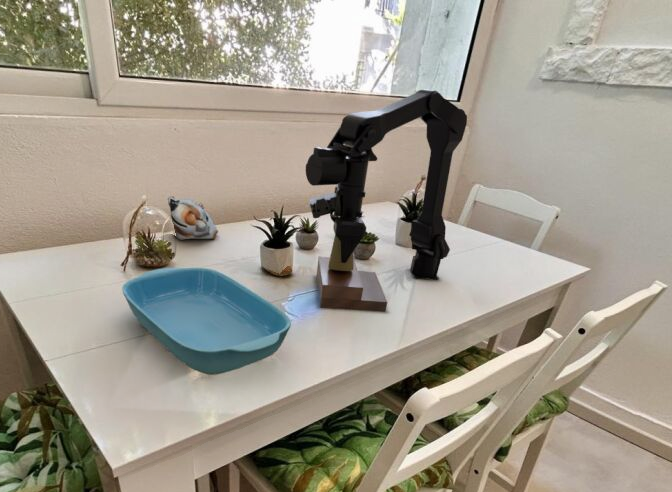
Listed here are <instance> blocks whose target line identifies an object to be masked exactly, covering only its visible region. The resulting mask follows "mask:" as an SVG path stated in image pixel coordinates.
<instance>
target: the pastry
mask: <svg viewBox="0 0 672 492" xmlns="http://www.w3.org/2000/svg"><path fill="white" fill-rule="evenodd" d="M291 266H292V265H291ZM291 266H287V267H286V268H285V269H284V270H282V272H281V273H280V274H279V273H276V272H273V271H271V270H268V269H265V268H264V270H265V271H267V272H269V273H270V274H272V275H274V276H279V277H284V276H290V275H291V274H292V273H293V267H292V268H291Z"/></svg>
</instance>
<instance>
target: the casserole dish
mask: <svg viewBox="0 0 672 492" xmlns="http://www.w3.org/2000/svg"><path fill="white" fill-rule="evenodd" d="M121 290H122V294H123V296H124V298H125V300H126V302H127V304H128V306H129V308H130V310H131V312H132V313H133V315H134V317H135V319H137V321H138V322H139V323H140V325H142V326H143V327H144V329H146V330H147V331H148V332H149V333H150V335H152V336H153V337H154V338H155V339H156V340H157V341H158V342H159V343H160V344H161V345H163V347H164V348H165V349H167V350H168V351H169V352H170V354H172V355H173V356H174V357H175V358H176V359H177V360H179V361H181V363H183V364H184V365H186V366H187V367H189V368H190V369H192V370H194V371H196V372H198V373H200V374H201V373H202V374H204V375H208V376H210V375H211V376H217V375H221V374H225V373H229V372H232V371H235V370H239V369H241V368H244V367H245V366H249V365H251V364H255V363H257V362H259V361H260V362H261V361H263V360H264V359H267V358H269V357H270V356H272V355H274V354H275V353H277V351H278V350H279V349H280V347H281V346H282V344H283V343H284V341H285V339H286V337H287V334H288V332H289V330H290V328H291V326H292V321H291V318H290V317H289V315H287V313H286V312H284V311H283V310H282V309H281V308H279V307H278V306H276V305H275V304H273V303H272V302H270V301H269V300H268V299H266V298H264V297H262V296H261V295H259V293H256V292H254V291H253V290H252V289H250V288H248V287H247V286H245V285H243V284H242V283H240V282H239V281H237V280H235V279H234V278H232V277H231V276H229V275H227V274H225V273H223V272H221V271H219V270H216V269H212V268H207V267H164V268H158V269H152V270H150V271H146V272H144V273H142V274H141V275H139V276H138V277H137V276H136V277H134V278H132V279H130V280H127V281H126V282H124V284H123V285H122V287H121Z"/></svg>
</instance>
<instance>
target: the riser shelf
mask: <svg viewBox="0 0 672 492" xmlns="http://www.w3.org/2000/svg"><path fill="white" fill-rule="evenodd" d="M329 260H330V256H318V257H317V267H316V276H315V277H316V286H317V294H318V301H319V307H320V308H321V309H335V310H348V311H349V310H351V311H364V312H365V311H366V312H381V313H386V312H387V311H386V310H387V306H388V299H387V298H386V295H385V293H384V290H383V287H382V285H381V283H380V281H379V278H378V275H377V273H376V272H375V271H364V270H358V268H357V264H356V262H355V259H354V258H353V261H354V270H352V271H340V270H333V269H330V268H328V265H329Z"/></svg>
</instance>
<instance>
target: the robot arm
mask: <svg viewBox="0 0 672 492" xmlns="http://www.w3.org/2000/svg"><path fill="white" fill-rule="evenodd" d="M417 119H420V120H421V121H422V122H423V123H424V124H425V125H426V135H425V136H426V140H427V144H428V146H429V149H430V154H429V161H428V168H427V174H426V181H425V187H424V194H423V201H422V207H421V212H420V214H419V216H418V217H417V218H416V219H413V220H412V221H411V223H410V231H409V235H408V236H409V237H410V242H411V250H415V255H413V256H412V260H411V263H410V268H409V271H410V273H411V274H412V276H413V278H414V279H421V280H431V281H432V280H434V281H438V280H439V276H438V273H439V269H440V264H441V261H442V260H444V258H447V257H448V255H449V253H450V251H451V249H450V247H449V245H448V244H449V243H448V242H447V240H446V224H445V220H444V217H443V210H444V203H445V200H446V199H445V198H446V193H447V189H448V181H449V176H450V172H451V171H450V170H451V165H452V159H453V154H454V151H455V150H456V149H457V147H458V146H459V145H460V143H461V142H462V141H463V138H464V134H465V131H466V128H467V124H468V115H467V114H466V111H465V110H464V109H462V108H459V107H458V106H456V105H455V104H453V103H452V102H450V101H449V100H448V99H446V98H445V97H444V96H443V95H442V94H441V93H440V92H439V91H437V90H435V89H434V90H433V89H427V88H420V89H418V90H417V91H416V92H415V93H413V94H411V95H408V96H406V97H404V98H402V99H399V100H397V101H394V102H392V103H390V104H388V105H386V106H384V107H382V108H379V109H376V110H370V111H369V110H368V111H359V112H353V113H349V114H347V115H345V116H344V117H343V118H342V119H341V124H340V127H338V129H337V130H336V132H335V134H334V135H333V136H332V138H331V140H330V142H329V143H328V145H327V146H326V148H325V147H324V148H322V147H319V146H316V147H315V146H314V147H313V153H312V154H311V155H310V156H309V157H308V160H307V162H306V164H305V176H306V180H307V182H308V184H309V185H310V186H313V187H315V186H334V185H336V186H334V192H331V193H326V194H323V195H319V196H315V197H311V198H309V201H308V202H309V206H310V211H311V215H312V219H319V218H321V217H323V216H326V215H329V216H330V219H331V221H332V222H333V223H334V222H335V231H334V230H333V232H334V236H335V235H336V237H337V238H338V239H339V240H340V251H341V263H346V262H347V260H348V259H349V257H350V256H351V254H352V253H353V254H354V252H355V250H356V248H357V247H358V245H359V244H360V242H361V241H362V240H364V238H365V237H366V234H367V226H366V223H365V222H364V221H363V219H362V217H363V211H362V207H363V200H364V198H366V190H365V188H366V180H367V174H368V168H369V163H370V162H377V161H378V157H377V155H376V154H375V153H374V151H373V148H374V147H375V146H377V145H378V144H380V143H382V141H383V139H384V138H385V136H386V135H387V134H389V133H390V132H392V131H394V130H395V129H398V128H400V127H402V126H404V125H406V124H409V123H410V122H413V121H415V120H417Z"/></svg>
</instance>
